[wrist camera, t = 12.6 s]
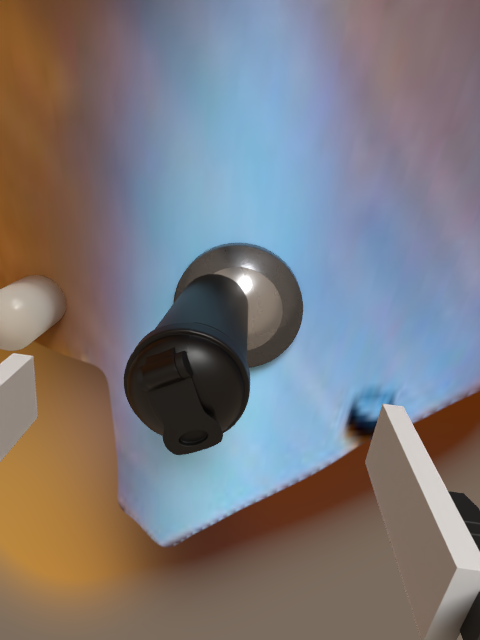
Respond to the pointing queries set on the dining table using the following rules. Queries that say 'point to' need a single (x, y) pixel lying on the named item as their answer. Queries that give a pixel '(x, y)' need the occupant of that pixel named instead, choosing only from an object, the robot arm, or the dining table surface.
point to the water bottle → (193, 366)
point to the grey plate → (256, 295)
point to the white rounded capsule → (29, 310)
